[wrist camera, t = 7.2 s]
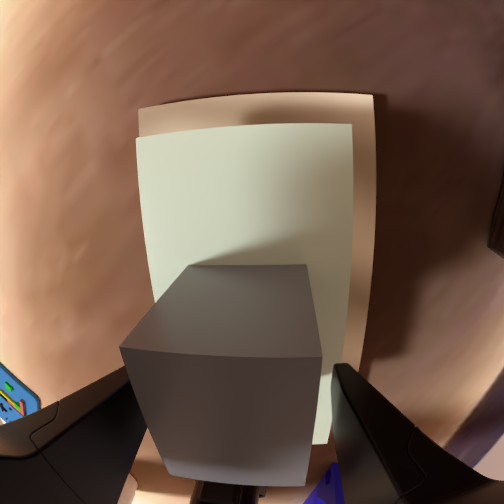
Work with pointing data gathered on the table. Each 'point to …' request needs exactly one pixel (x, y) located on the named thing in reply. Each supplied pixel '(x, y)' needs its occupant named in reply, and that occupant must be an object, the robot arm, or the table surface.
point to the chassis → (301, 111)
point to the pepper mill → (498, 226)
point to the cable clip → (328, 488)
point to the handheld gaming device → (15, 397)
